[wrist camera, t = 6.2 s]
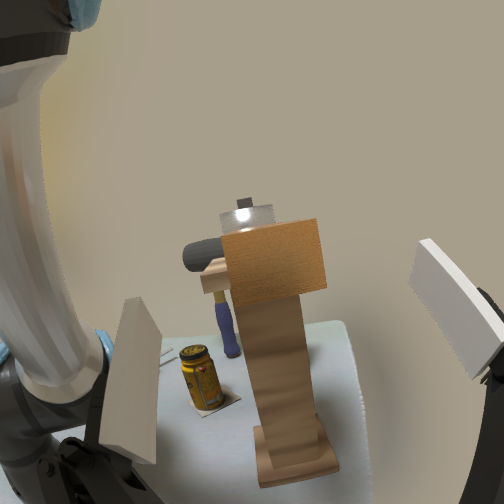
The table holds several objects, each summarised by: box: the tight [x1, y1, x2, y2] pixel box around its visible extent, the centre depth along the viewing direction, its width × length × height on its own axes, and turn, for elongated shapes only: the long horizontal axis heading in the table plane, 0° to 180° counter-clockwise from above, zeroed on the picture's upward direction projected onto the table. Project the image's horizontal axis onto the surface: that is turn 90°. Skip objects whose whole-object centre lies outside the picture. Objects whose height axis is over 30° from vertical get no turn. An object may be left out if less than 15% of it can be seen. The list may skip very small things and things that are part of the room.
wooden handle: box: [220, 197, 327, 307], centre depth 23 cm, size 23×6×6 cm, turn 3°
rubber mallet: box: [183, 238, 240, 358], centre depth 66 cm, size 12×8×30 cm, turn 68°
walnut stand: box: [200, 257, 339, 488], centre depth 30 cm, size 12×10×28 cm
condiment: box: [180, 345, 240, 417], centre depth 48 cm, size 7×8×12 cm
